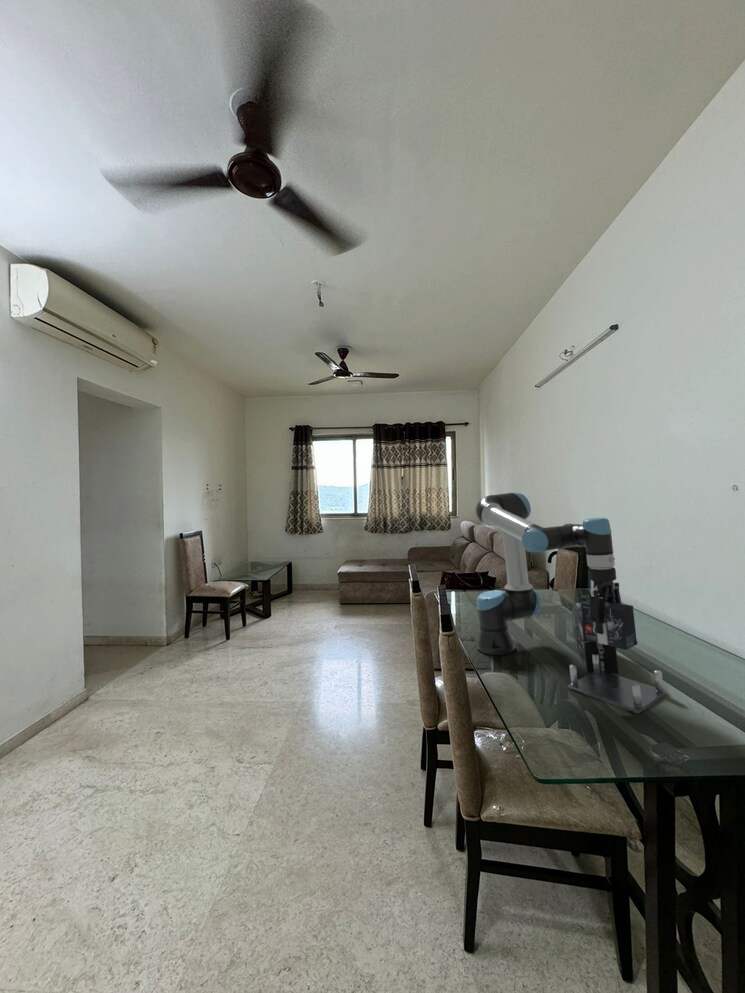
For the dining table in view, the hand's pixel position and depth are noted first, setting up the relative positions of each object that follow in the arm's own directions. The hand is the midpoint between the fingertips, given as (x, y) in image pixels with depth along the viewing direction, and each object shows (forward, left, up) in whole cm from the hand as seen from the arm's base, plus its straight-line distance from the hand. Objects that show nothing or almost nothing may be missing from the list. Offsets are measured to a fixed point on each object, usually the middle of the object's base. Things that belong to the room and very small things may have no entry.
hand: (609, 640), depth 125 cm
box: (-16, +18, -17) cm, 29 cm away
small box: (0, 0, -1) cm, 1 cm away
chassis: (0, 0, -16) cm, 16 cm away
